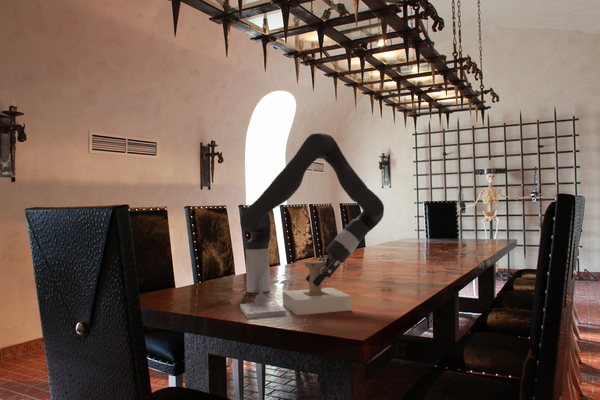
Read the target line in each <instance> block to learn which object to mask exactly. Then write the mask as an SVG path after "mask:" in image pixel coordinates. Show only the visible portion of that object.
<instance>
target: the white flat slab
mask: <svg viewBox="0 0 600 400" xmlns="http://www.w3.org/2000/svg"><path fill="white" fill-rule="evenodd" d="M239 309H241V310H240V312H242V314H243V315H244V317H245V318H246V320H250V319H261V318H273V317H282V316H287V311H286V309H285V308H284V307H283V306H282V305H280V304H279V303H278V302H276V301H275V300H274V301H268V302H262V303H256V302H252V303H240V304H239Z"/></svg>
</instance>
